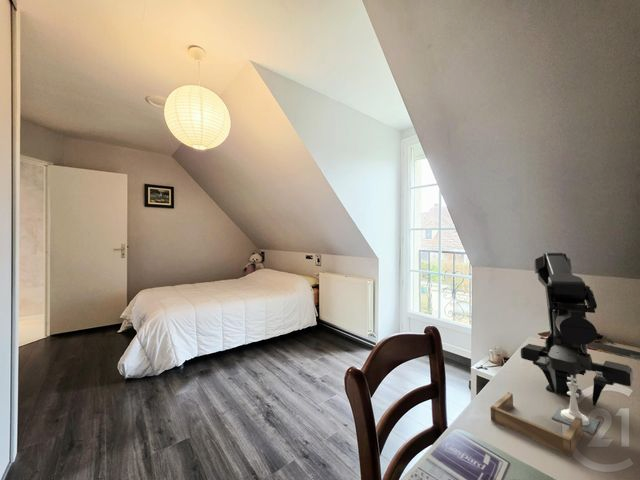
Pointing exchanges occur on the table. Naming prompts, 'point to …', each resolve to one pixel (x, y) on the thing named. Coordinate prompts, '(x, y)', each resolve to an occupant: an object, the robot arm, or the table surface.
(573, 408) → the chess piece
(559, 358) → the robot arm
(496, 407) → the wooden frame
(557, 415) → the pad
